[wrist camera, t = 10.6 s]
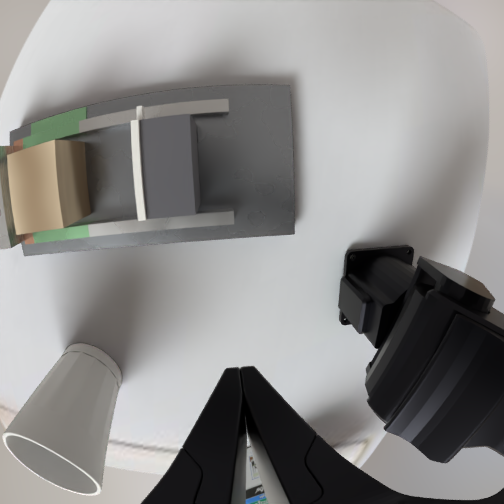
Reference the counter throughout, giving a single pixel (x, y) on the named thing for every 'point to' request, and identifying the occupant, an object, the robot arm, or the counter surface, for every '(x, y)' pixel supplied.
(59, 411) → the cup
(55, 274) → the counter surface
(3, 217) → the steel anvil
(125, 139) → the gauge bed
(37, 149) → the block
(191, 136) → the plunger
